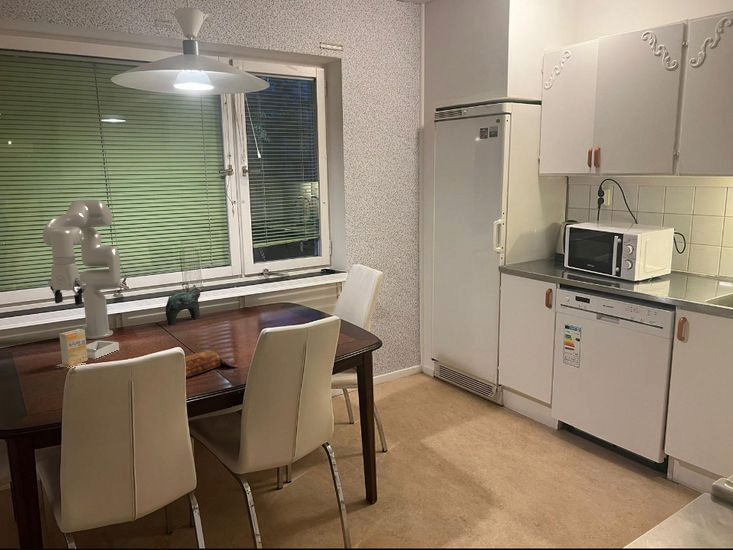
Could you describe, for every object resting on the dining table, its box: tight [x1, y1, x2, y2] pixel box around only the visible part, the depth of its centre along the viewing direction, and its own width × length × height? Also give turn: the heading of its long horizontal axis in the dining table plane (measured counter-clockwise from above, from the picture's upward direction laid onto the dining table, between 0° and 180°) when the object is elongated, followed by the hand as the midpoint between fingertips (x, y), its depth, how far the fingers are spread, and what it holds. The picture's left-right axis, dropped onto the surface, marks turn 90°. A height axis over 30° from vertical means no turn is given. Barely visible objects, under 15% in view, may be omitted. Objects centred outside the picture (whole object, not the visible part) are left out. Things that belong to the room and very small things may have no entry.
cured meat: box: [184, 349, 238, 378], centre depth 217 cm, size 18×25×7 cm
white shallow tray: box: [86, 340, 120, 359], centre depth 237 cm, size 11×14×4 cm
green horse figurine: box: [165, 282, 201, 326], centre depth 287 cm, size 20×6×20 cm, turn 144°
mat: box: [55, 362, 86, 369], centre depth 225 cm, size 10×10×1 cm
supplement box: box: [59, 328, 88, 366], centre depth 224 cm, size 8×5×13 cm, turn 151°
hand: (69, 303), depth 221 cm, fingers open, 9 cm apart
